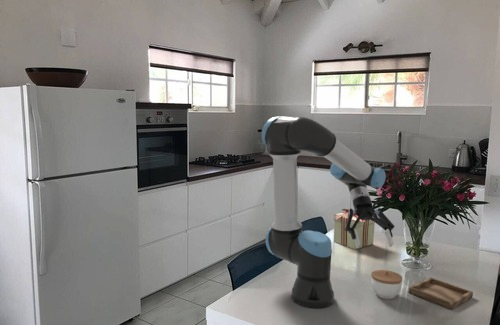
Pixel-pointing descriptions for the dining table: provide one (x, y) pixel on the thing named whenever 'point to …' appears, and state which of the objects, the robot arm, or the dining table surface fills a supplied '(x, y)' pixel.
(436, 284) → the walnut tray
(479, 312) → the dining table surface
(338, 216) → the gift box
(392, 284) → the lidded jar
